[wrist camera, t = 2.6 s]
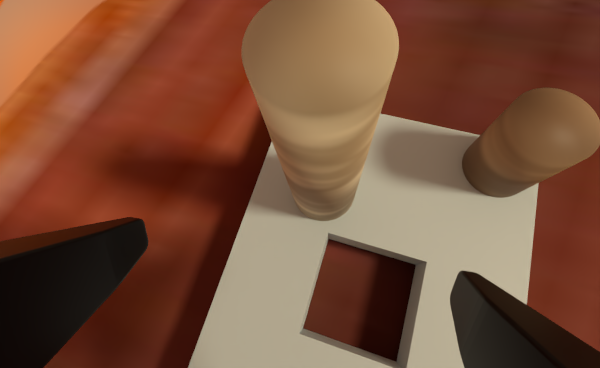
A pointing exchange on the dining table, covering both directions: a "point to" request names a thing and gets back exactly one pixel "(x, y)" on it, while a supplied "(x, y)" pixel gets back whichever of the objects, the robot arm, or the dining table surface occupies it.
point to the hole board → (373, 237)
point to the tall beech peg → (321, 92)
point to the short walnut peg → (532, 142)
